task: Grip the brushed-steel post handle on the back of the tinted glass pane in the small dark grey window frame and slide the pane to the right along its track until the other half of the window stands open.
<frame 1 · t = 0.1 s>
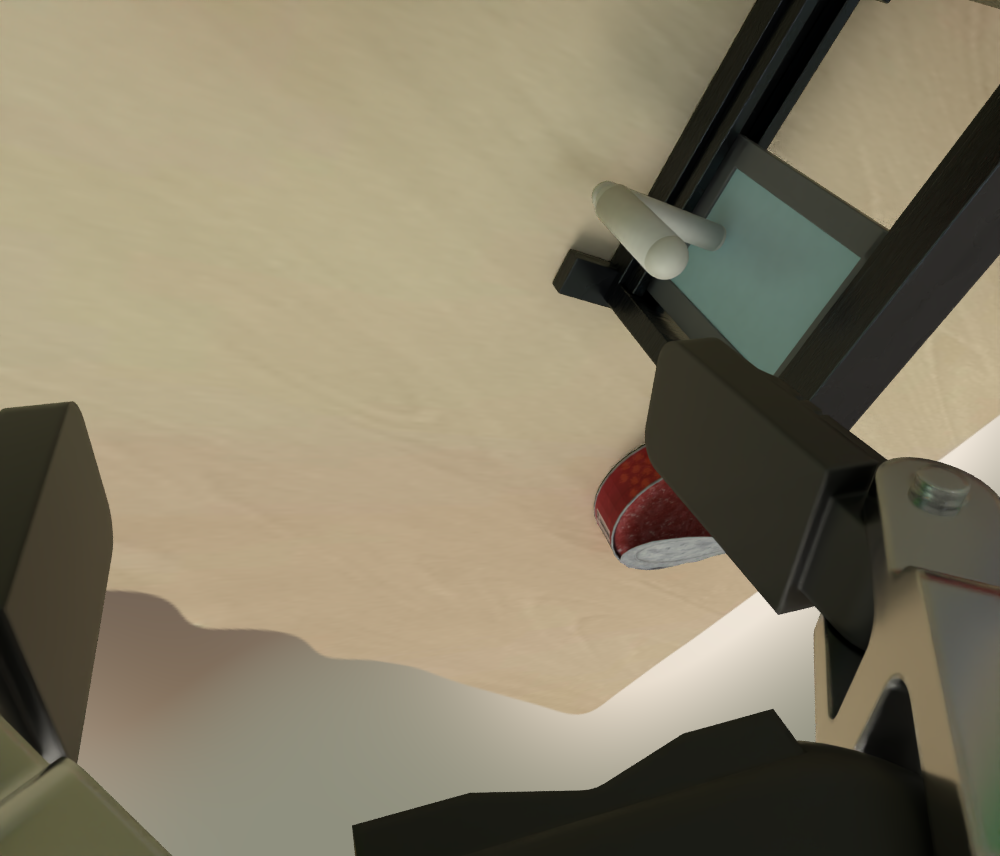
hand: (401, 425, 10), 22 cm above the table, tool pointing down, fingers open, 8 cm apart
window pane: (694, 249, 29), point 7 cm above the table, slide at 0.0 cm
window frame: (713, 130, 34), on the table
canned food: (659, 486, 51), on the table
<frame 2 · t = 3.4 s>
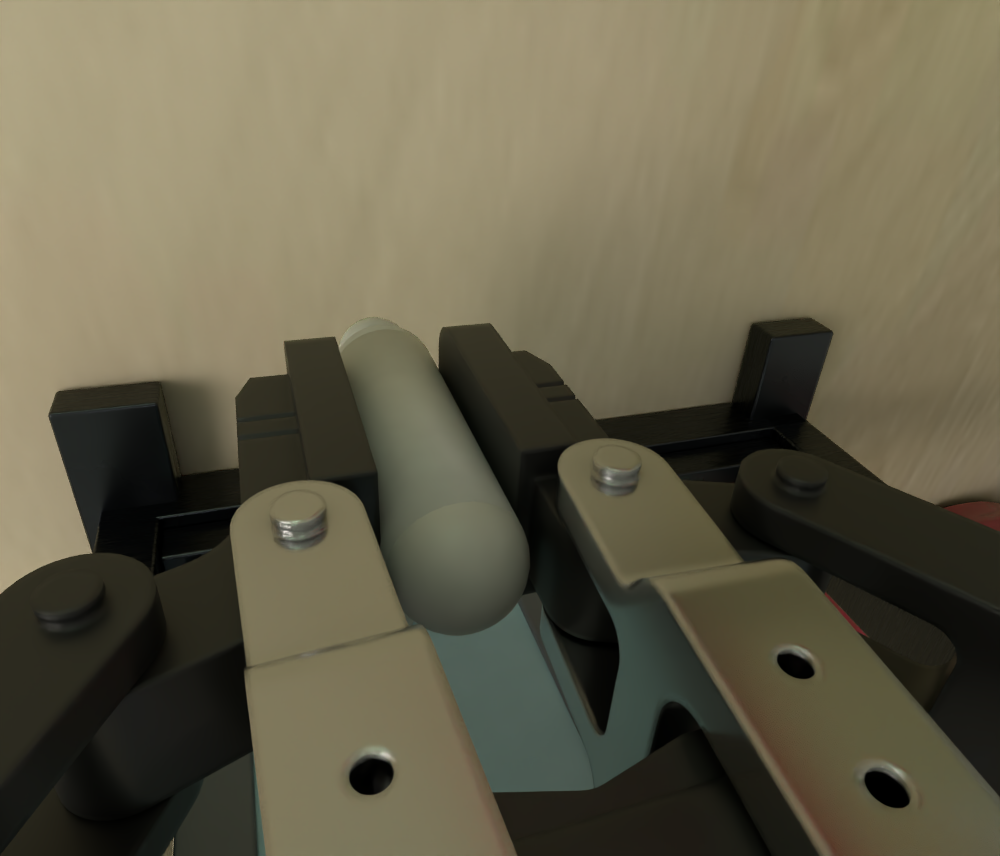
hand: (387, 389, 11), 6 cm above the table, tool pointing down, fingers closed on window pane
kitchen canister: (894, 614, 31), on the table
window pane: (415, 605, 11), point 7 cm above the table, slide at 0.0 cm, touching gripper
window frame: (484, 481, 20), on the table
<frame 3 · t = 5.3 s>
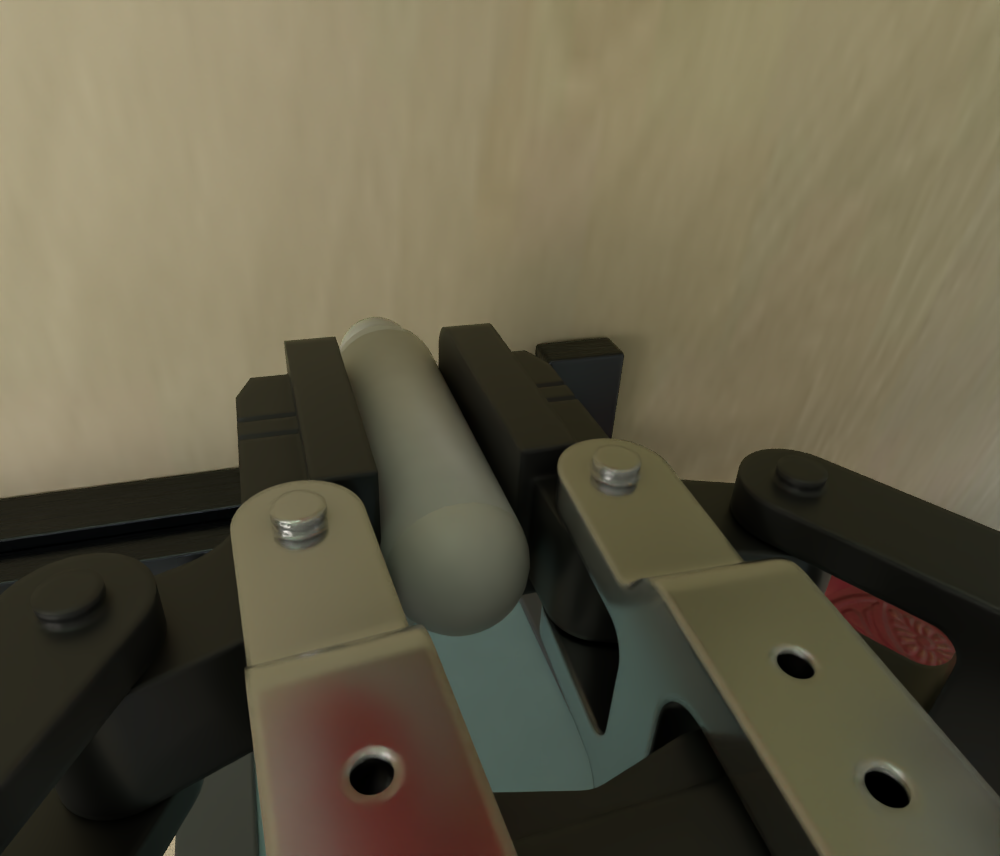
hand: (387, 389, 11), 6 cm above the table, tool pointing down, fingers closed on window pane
kitchen canister: (770, 645, 29), on the table
window pane: (416, 604, 11), point 7 cm above the table, slide at 6.3 cm, touching gripper
window frame: (242, 517, 18), on the table
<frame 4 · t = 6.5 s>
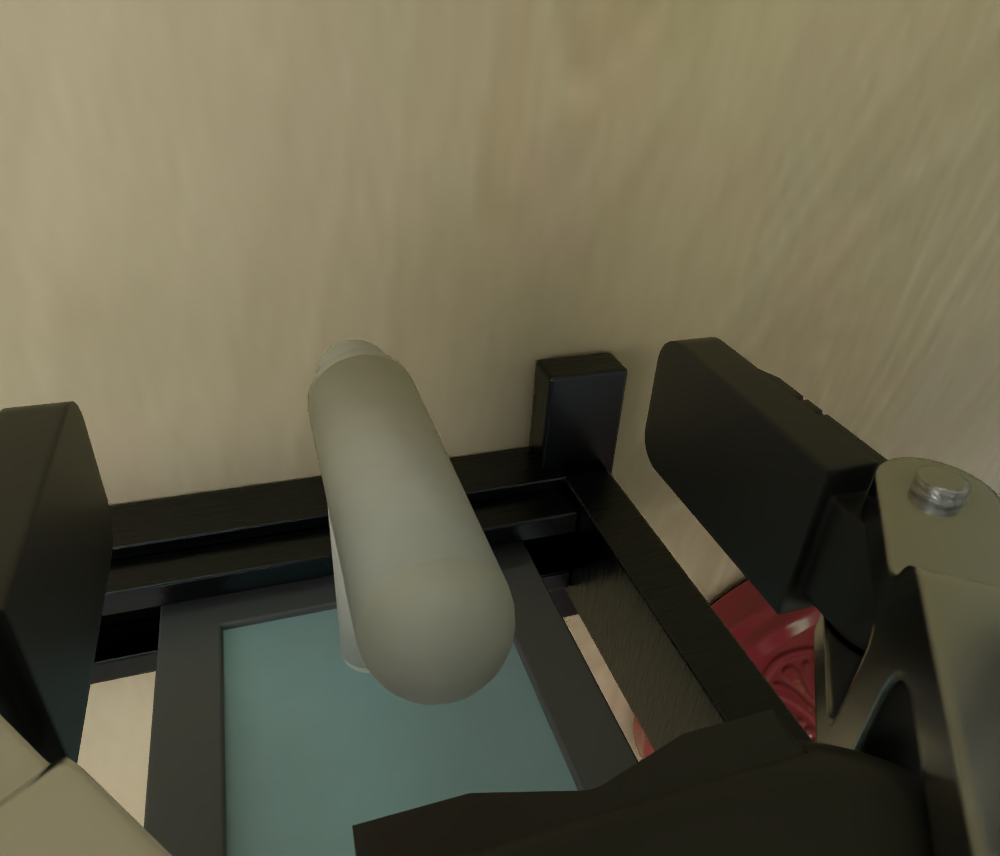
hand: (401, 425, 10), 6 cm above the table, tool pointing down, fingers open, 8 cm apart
kitchen canister: (774, 662, 29), on the table
window pane: (397, 649, 11), point 7 cm above the table, slide at 6.1 cm
window frame: (230, 540, 18), on the table
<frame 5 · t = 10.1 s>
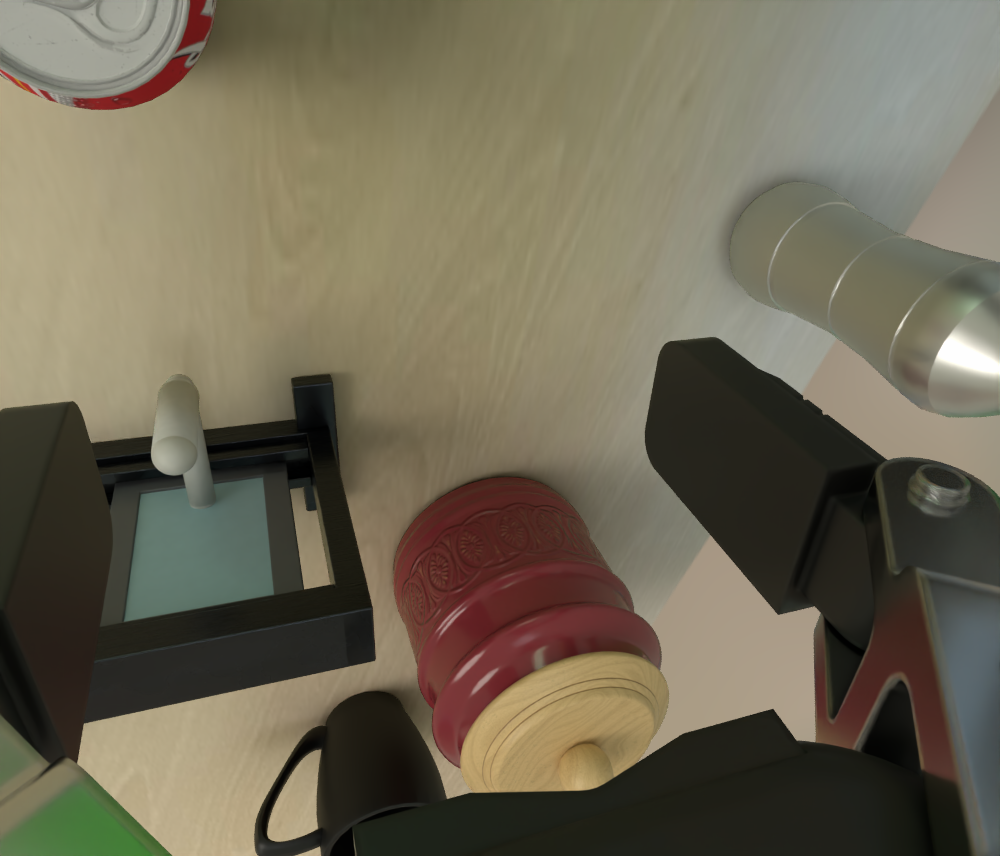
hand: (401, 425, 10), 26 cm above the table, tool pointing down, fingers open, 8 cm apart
kitchen canister: (485, 550, 49), on the table
window pane: (189, 482, 31), point 7 cm above the table, slide at 6.1 cm
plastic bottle: (762, 231, 42), on the table
mug: (338, 717, 53), on the table
window frame: (149, 461, 38), on the table
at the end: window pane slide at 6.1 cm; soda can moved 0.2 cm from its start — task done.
